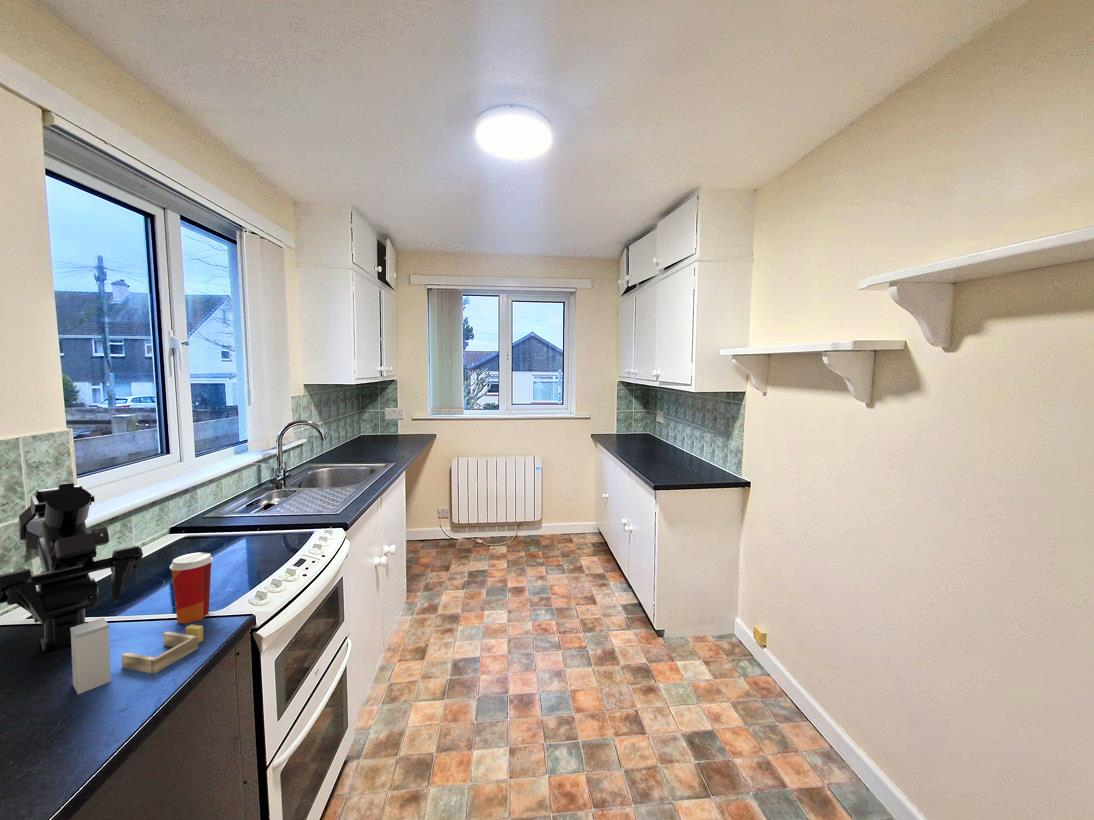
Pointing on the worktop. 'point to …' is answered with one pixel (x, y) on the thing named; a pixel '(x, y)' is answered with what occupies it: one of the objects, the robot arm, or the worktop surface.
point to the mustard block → (195, 631)
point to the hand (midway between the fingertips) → (82, 611)
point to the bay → (154, 664)
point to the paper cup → (191, 586)
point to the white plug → (90, 655)
